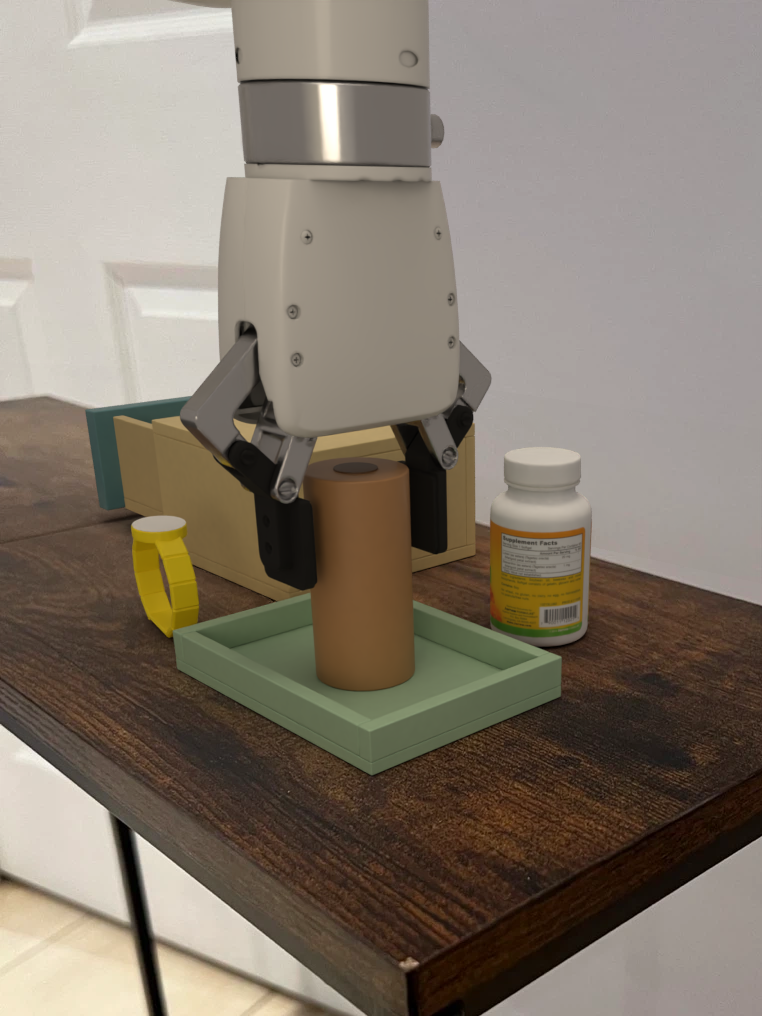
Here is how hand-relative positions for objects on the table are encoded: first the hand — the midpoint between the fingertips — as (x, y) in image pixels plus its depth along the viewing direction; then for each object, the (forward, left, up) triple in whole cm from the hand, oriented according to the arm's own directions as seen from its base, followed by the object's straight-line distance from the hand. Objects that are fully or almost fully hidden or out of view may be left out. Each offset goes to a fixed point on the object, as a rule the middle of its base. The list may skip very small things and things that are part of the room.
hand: (359, 561), depth 54 cm
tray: (0, 0, -6) cm, 6 cm away
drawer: (-17, +28, -5) cm, 33 cm away
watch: (-12, +6, -6) cm, 15 cm away
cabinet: (-7, +20, -6) cm, 22 cm away
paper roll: (0, 0, -6) cm, 6 cm away
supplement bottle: (+8, +8, -6) cm, 13 cm away
